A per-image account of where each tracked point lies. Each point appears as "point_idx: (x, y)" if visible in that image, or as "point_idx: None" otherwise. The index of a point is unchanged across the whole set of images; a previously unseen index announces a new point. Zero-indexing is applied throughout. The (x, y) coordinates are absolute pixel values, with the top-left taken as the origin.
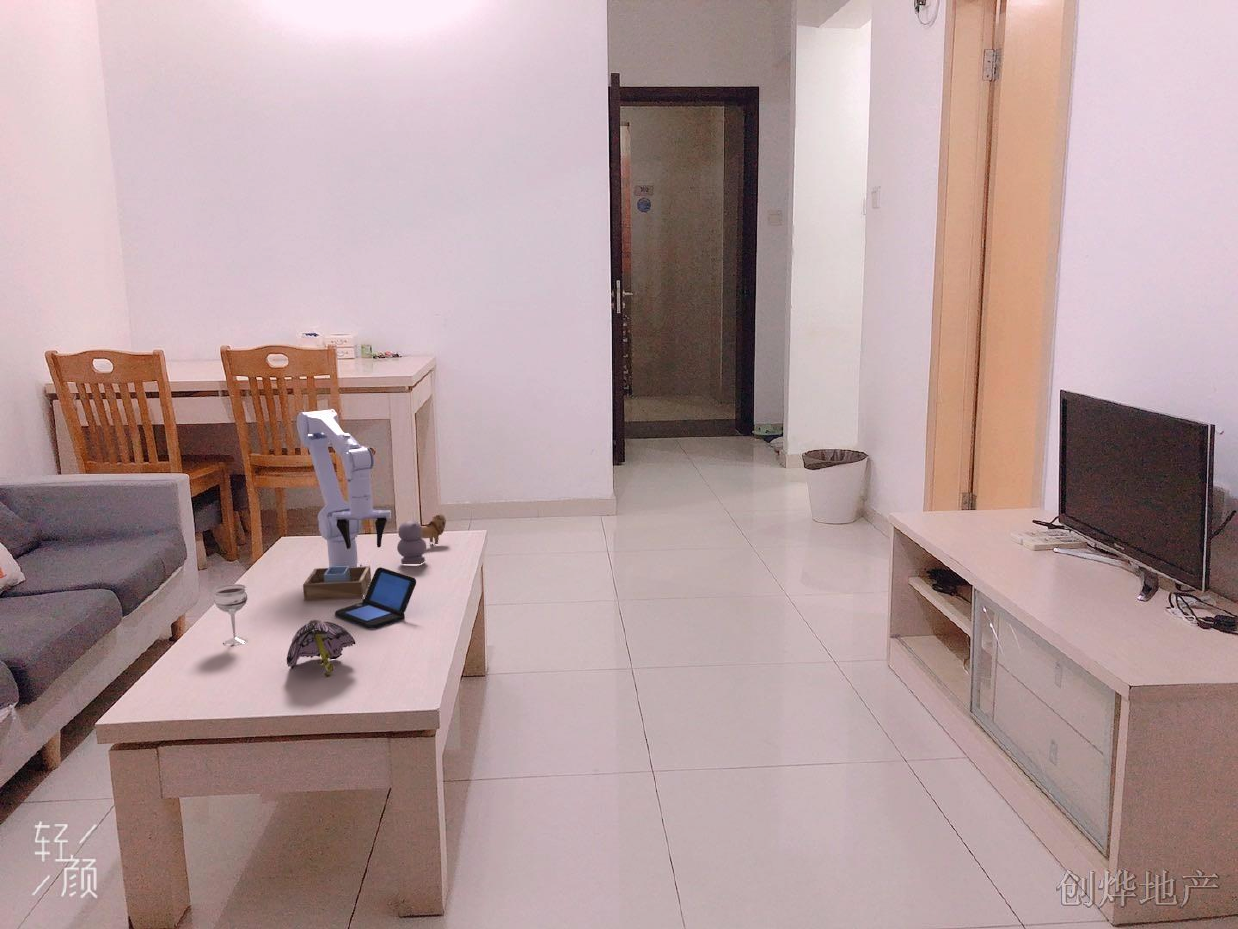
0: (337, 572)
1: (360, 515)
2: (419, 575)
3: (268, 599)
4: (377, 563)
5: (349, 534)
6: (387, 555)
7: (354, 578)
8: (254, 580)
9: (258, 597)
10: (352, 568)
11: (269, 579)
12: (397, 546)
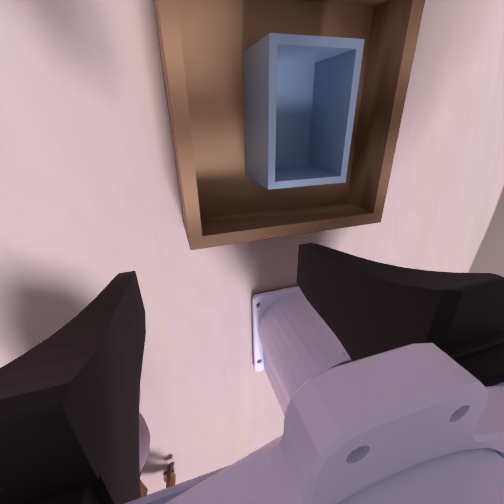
0: (305, 174)
1: (385, 441)
2: (9, 294)
3: (470, 50)
4: (213, 379)
5: (335, 329)
6: (204, 431)
7: (241, 215)
8: (471, 238)
9: (488, 81)
10: (257, 228)
11: (445, 245)
12: (143, 435)
